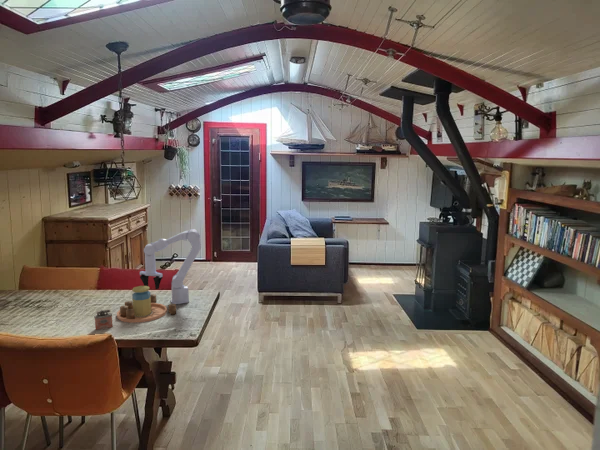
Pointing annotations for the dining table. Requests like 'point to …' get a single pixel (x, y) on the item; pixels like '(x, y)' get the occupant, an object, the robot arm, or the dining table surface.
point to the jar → (141, 300)
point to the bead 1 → (153, 298)
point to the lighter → (103, 320)
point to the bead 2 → (172, 309)
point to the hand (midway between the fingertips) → (151, 288)
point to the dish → (157, 311)
